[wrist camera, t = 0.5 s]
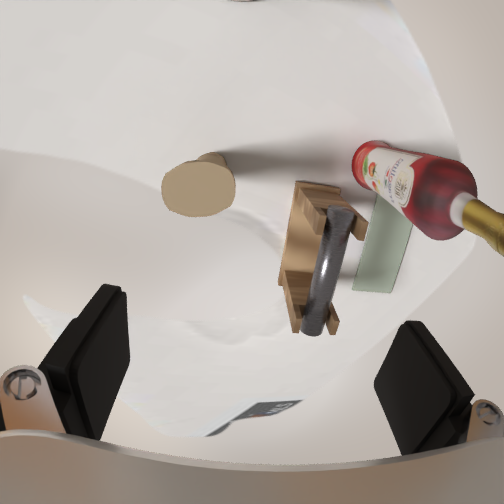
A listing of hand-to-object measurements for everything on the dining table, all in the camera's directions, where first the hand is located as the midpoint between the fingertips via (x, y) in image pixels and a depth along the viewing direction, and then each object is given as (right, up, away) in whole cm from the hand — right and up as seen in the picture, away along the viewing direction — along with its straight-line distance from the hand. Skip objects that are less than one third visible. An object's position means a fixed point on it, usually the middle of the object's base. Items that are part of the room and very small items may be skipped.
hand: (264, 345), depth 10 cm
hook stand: (+7, +5, +35) cm, 36 cm away
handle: (-5, +14, +31) cm, 34 cm away
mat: (+20, +4, +36) cm, 41 cm away
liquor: (+16, +15, +31) cm, 38 cm away
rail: (+8, +1, +25) cm, 26 cm away
